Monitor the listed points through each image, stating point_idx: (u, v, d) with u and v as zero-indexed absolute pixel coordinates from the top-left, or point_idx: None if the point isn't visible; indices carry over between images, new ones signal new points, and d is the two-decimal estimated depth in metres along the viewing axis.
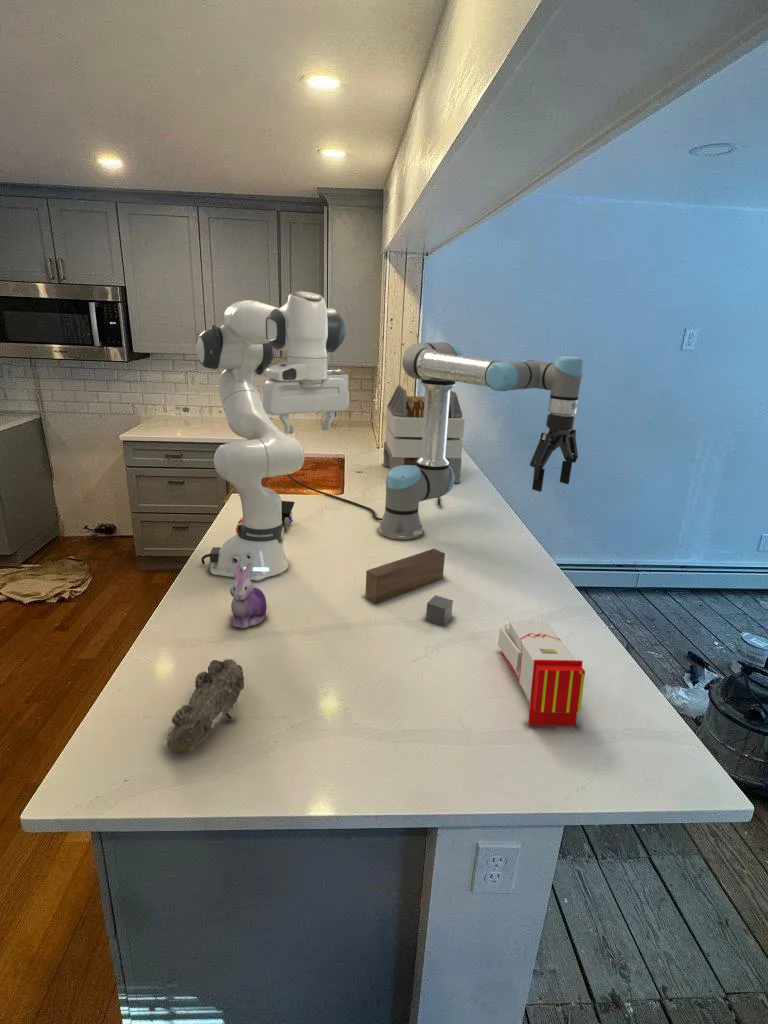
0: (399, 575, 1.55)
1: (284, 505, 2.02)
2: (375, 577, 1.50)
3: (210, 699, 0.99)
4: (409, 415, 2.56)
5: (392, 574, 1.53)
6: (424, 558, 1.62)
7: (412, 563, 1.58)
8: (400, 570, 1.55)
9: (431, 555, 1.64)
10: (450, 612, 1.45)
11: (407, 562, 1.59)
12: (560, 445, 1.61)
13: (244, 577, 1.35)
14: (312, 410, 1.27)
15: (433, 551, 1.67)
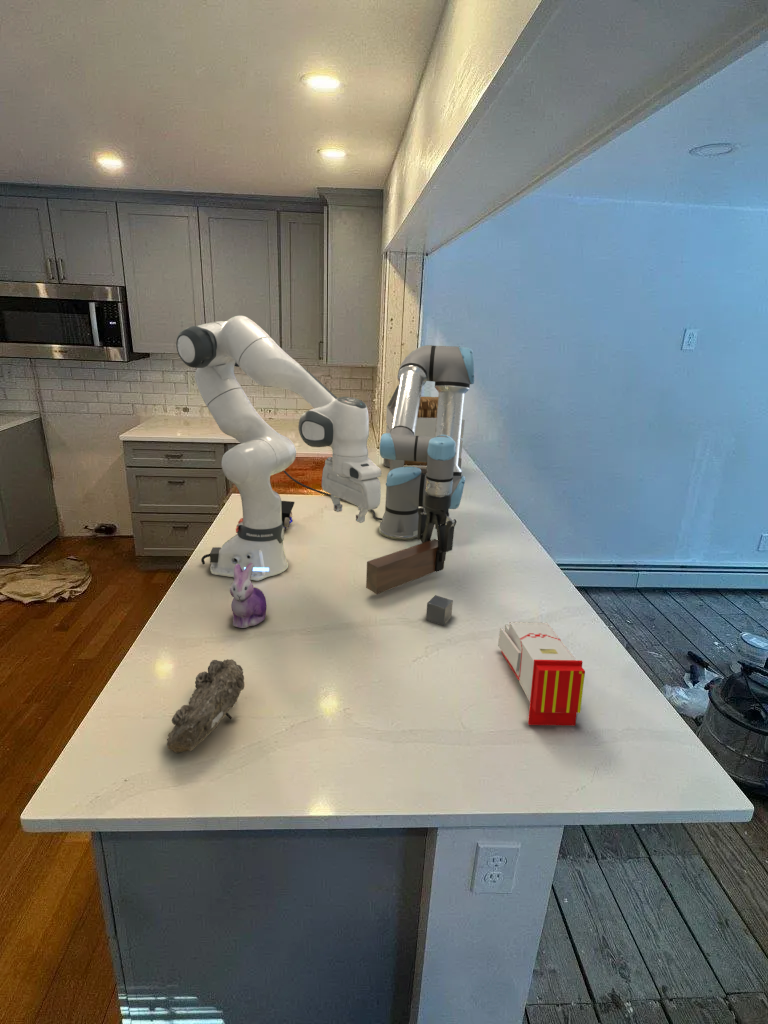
0: (400, 566, 1.55)
1: (284, 505, 2.02)
2: (376, 568, 1.50)
3: (210, 699, 0.99)
4: None
5: (393, 565, 1.53)
6: (425, 548, 1.61)
7: (413, 554, 1.58)
8: (400, 561, 1.54)
9: (432, 546, 1.63)
10: (450, 612, 1.45)
11: (408, 553, 1.58)
12: (433, 522, 1.62)
13: (244, 577, 1.35)
14: None
15: (434, 542, 1.66)
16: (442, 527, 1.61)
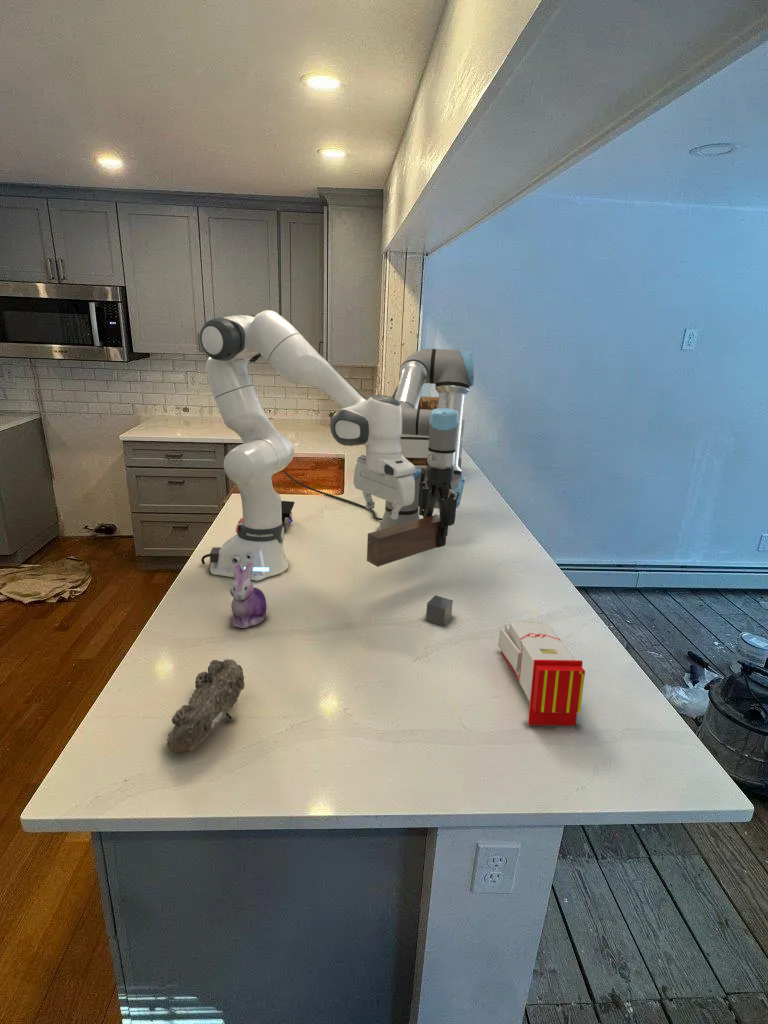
0: (401, 539, 1.52)
1: (284, 505, 2.02)
2: (377, 539, 1.47)
3: (210, 699, 0.99)
4: None
5: (394, 537, 1.50)
6: (427, 522, 1.58)
7: (414, 527, 1.55)
8: (402, 533, 1.51)
9: (434, 520, 1.60)
10: (450, 612, 1.45)
11: (410, 526, 1.55)
12: (435, 496, 1.59)
13: (244, 577, 1.35)
14: None
15: (436, 517, 1.63)
16: (444, 501, 1.58)
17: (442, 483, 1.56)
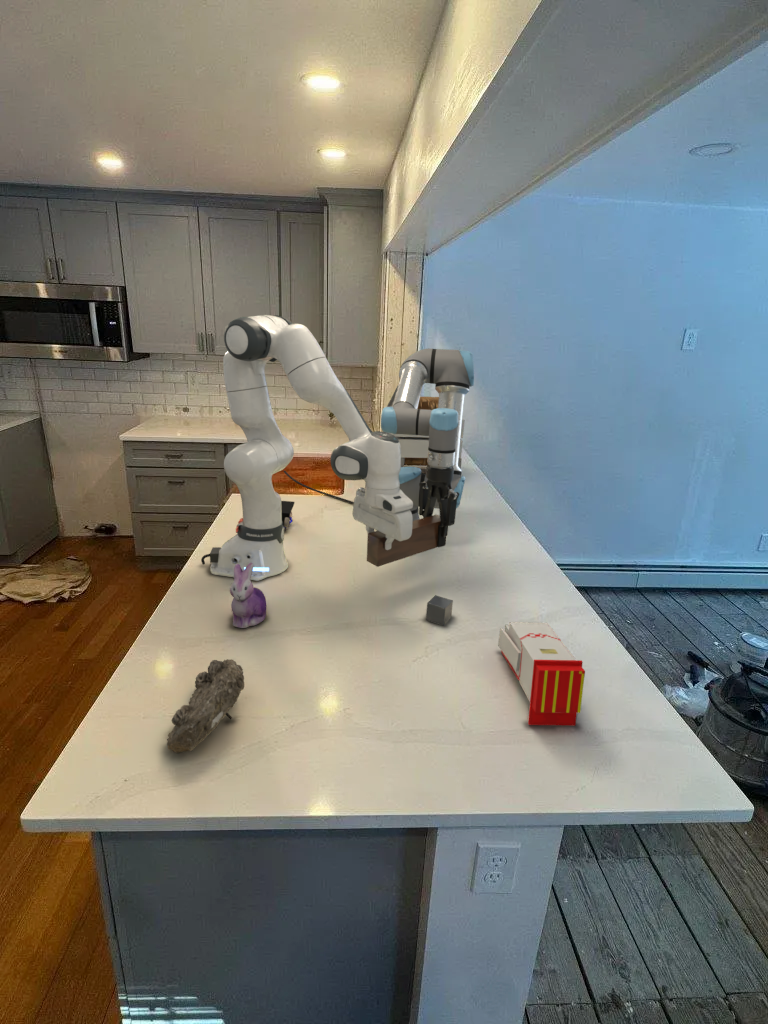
0: None
1: (284, 505, 2.02)
2: (377, 539, 1.47)
3: (210, 699, 0.99)
4: None
5: None
6: (427, 523, 1.58)
7: (414, 527, 1.55)
8: None
9: (434, 520, 1.60)
10: (450, 612, 1.45)
11: None
12: (435, 496, 1.59)
13: (244, 577, 1.35)
14: None
15: (436, 517, 1.63)
16: (444, 501, 1.58)
17: (442, 483, 1.56)
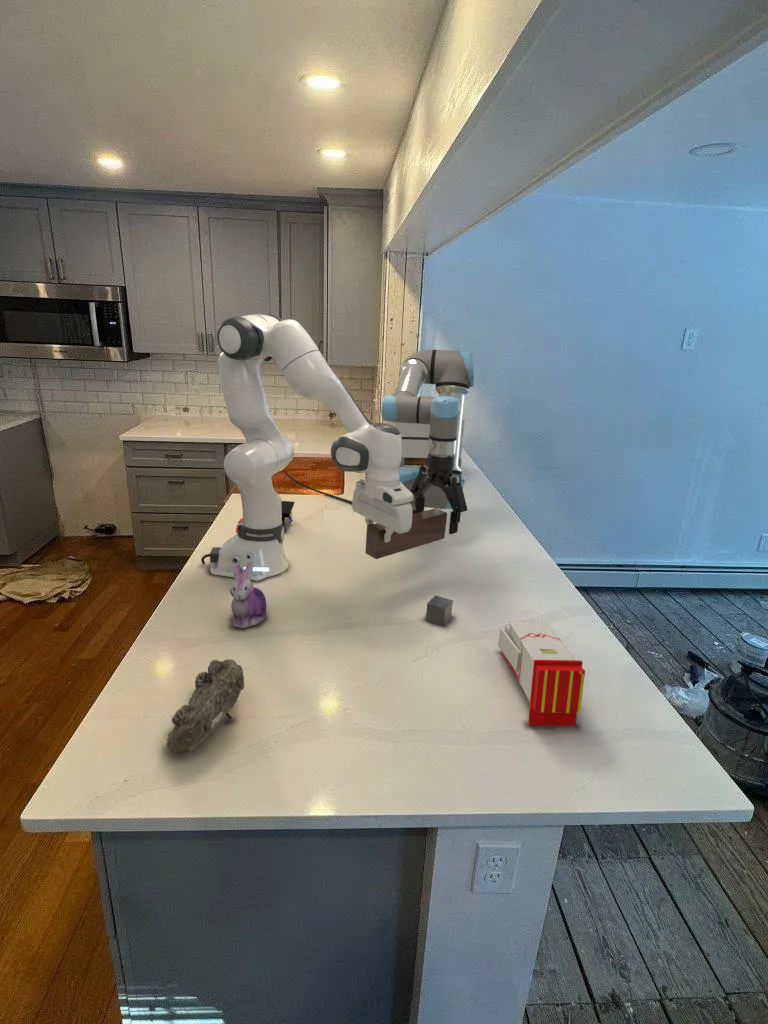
0: None
1: (284, 505, 2.02)
2: (376, 532, 1.46)
3: (210, 699, 0.99)
4: None
5: None
6: (426, 516, 1.58)
7: (414, 520, 1.54)
8: None
9: (433, 514, 1.60)
10: (450, 612, 1.45)
11: None
12: (436, 485, 1.58)
13: (244, 577, 1.35)
14: None
15: (435, 510, 1.63)
16: (449, 487, 1.56)
17: (441, 473, 1.56)
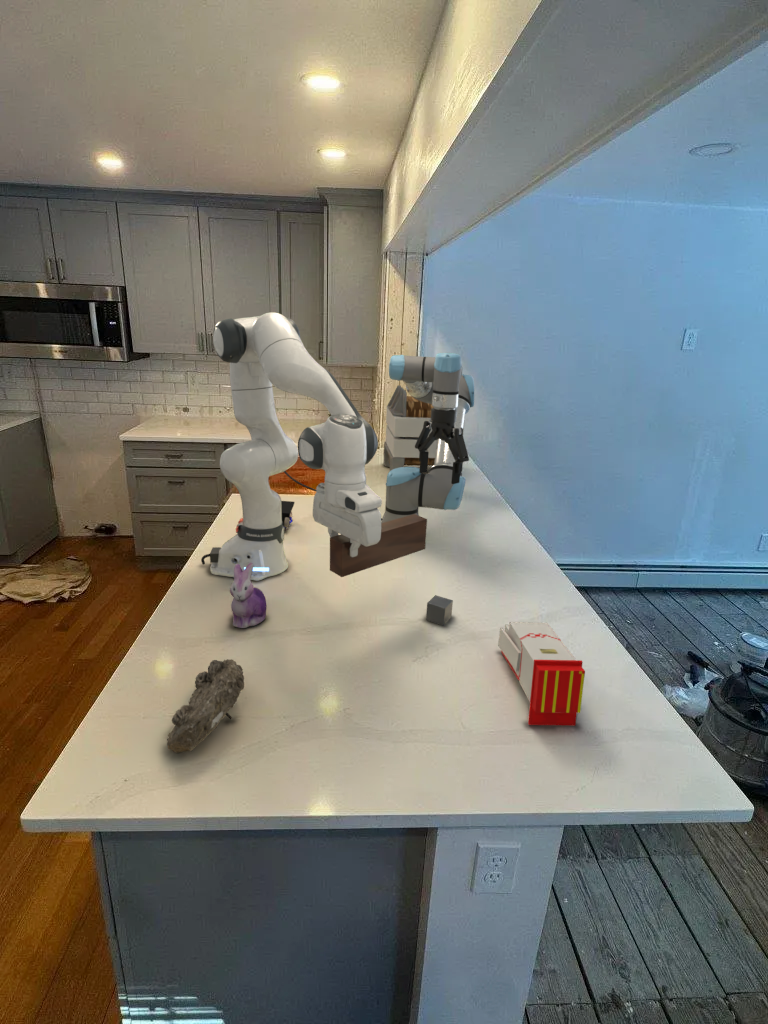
0: None
1: (284, 505, 2.02)
2: (340, 545, 1.22)
3: (210, 699, 0.99)
4: (409, 415, 2.56)
5: None
6: (402, 524, 1.34)
7: (387, 529, 1.31)
8: None
9: (411, 521, 1.36)
10: (450, 612, 1.45)
11: (381, 528, 1.31)
12: (439, 437, 1.68)
13: (244, 577, 1.35)
14: None
15: (413, 517, 1.39)
16: (451, 439, 1.66)
17: (444, 426, 1.66)
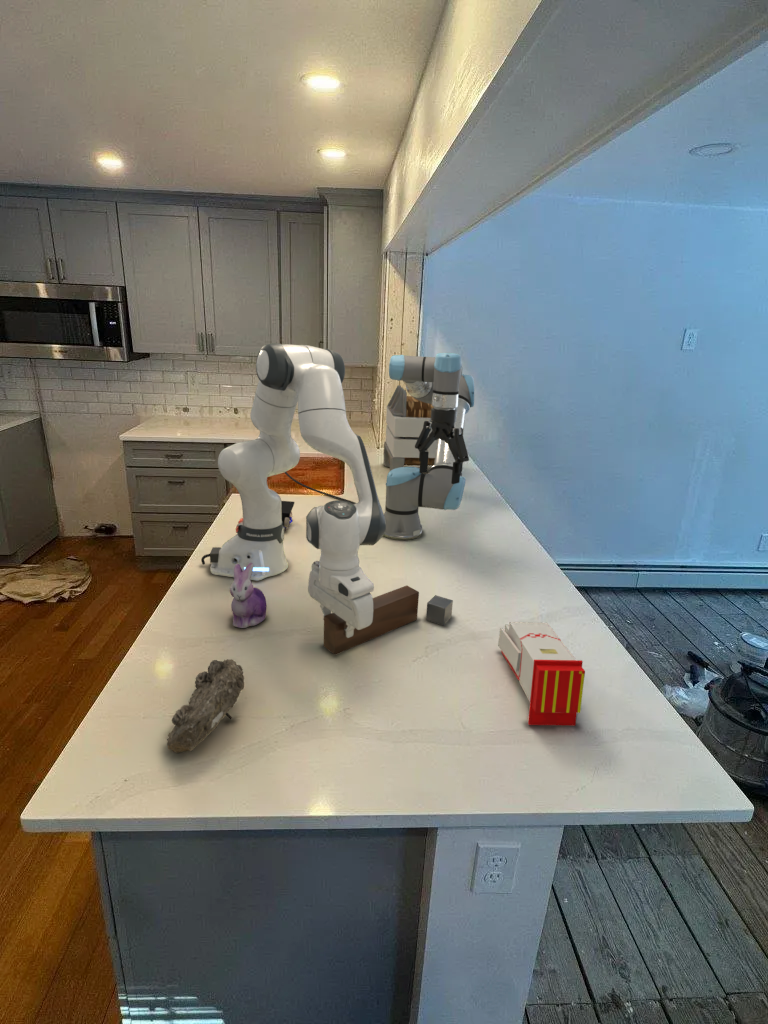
0: None
1: (284, 505, 2.02)
2: (333, 625, 1.27)
3: (210, 699, 0.99)
4: (409, 415, 2.56)
5: None
6: (394, 598, 1.39)
7: (379, 605, 1.35)
8: None
9: (403, 595, 1.40)
10: (450, 612, 1.45)
11: (374, 604, 1.35)
12: (439, 437, 1.68)
13: (244, 577, 1.35)
14: None
15: (405, 589, 1.43)
16: (451, 439, 1.66)
17: (444, 426, 1.66)
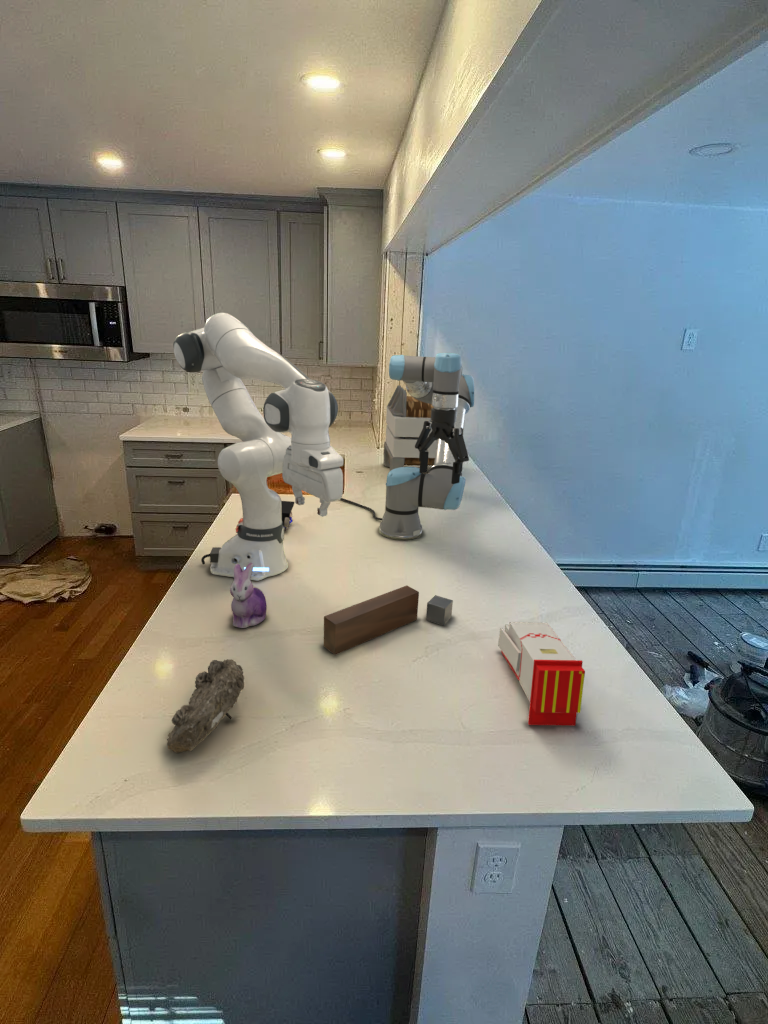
0: (363, 621, 1.32)
1: (284, 505, 2.02)
2: (333, 625, 1.27)
3: (210, 699, 0.99)
4: (409, 415, 2.56)
5: (354, 620, 1.30)
6: (394, 598, 1.39)
7: (379, 605, 1.35)
8: (364, 614, 1.32)
9: (403, 595, 1.40)
10: (450, 612, 1.45)
11: (374, 604, 1.35)
12: (439, 437, 1.68)
13: (244, 577, 1.35)
14: None
15: (405, 589, 1.43)
16: (451, 439, 1.66)
17: (444, 426, 1.66)
